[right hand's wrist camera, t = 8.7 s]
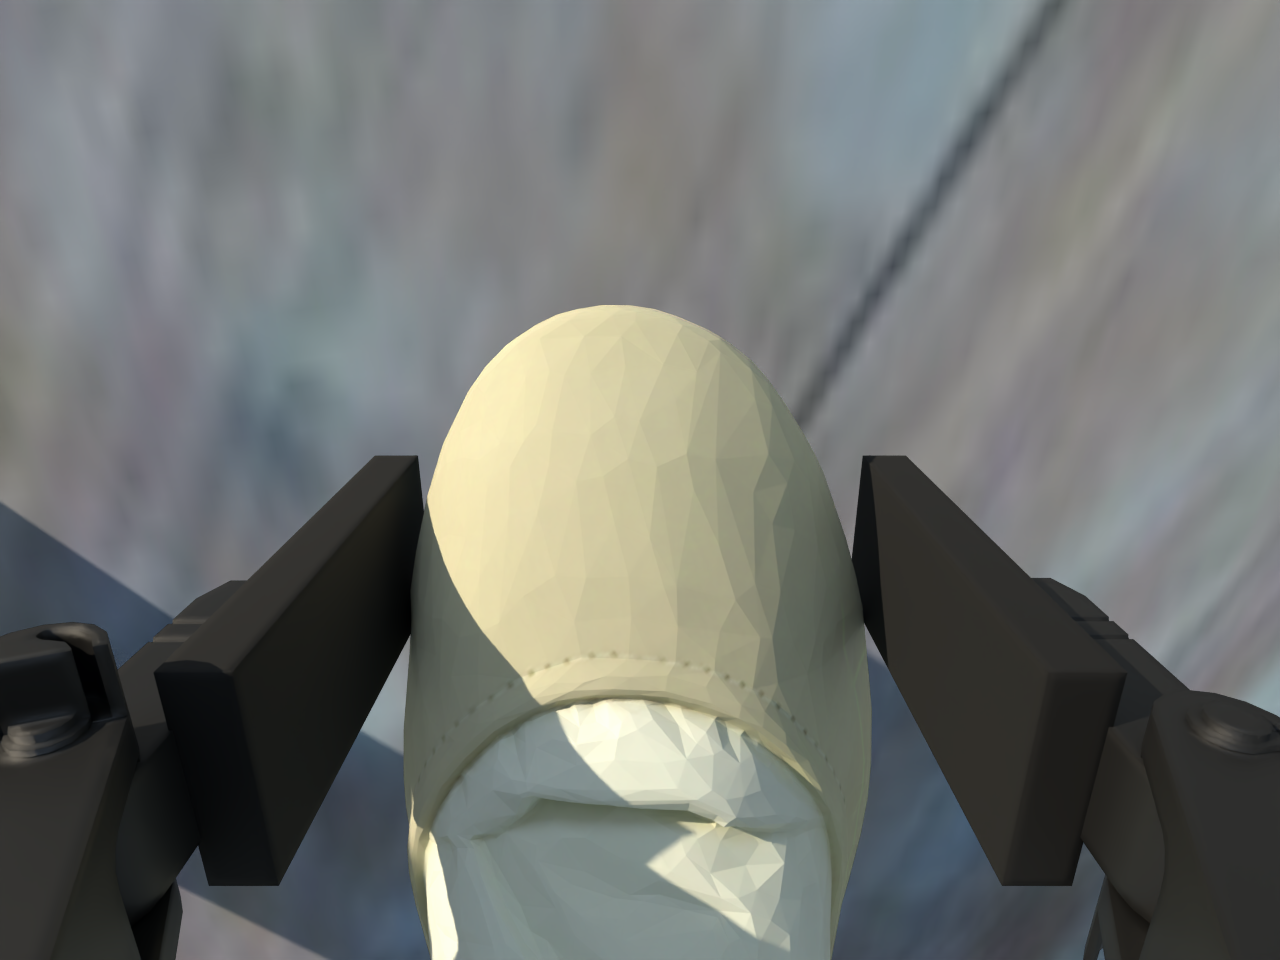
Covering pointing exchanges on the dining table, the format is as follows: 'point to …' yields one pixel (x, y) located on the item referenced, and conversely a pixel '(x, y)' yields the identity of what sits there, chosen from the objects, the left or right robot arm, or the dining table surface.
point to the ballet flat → (632, 660)
